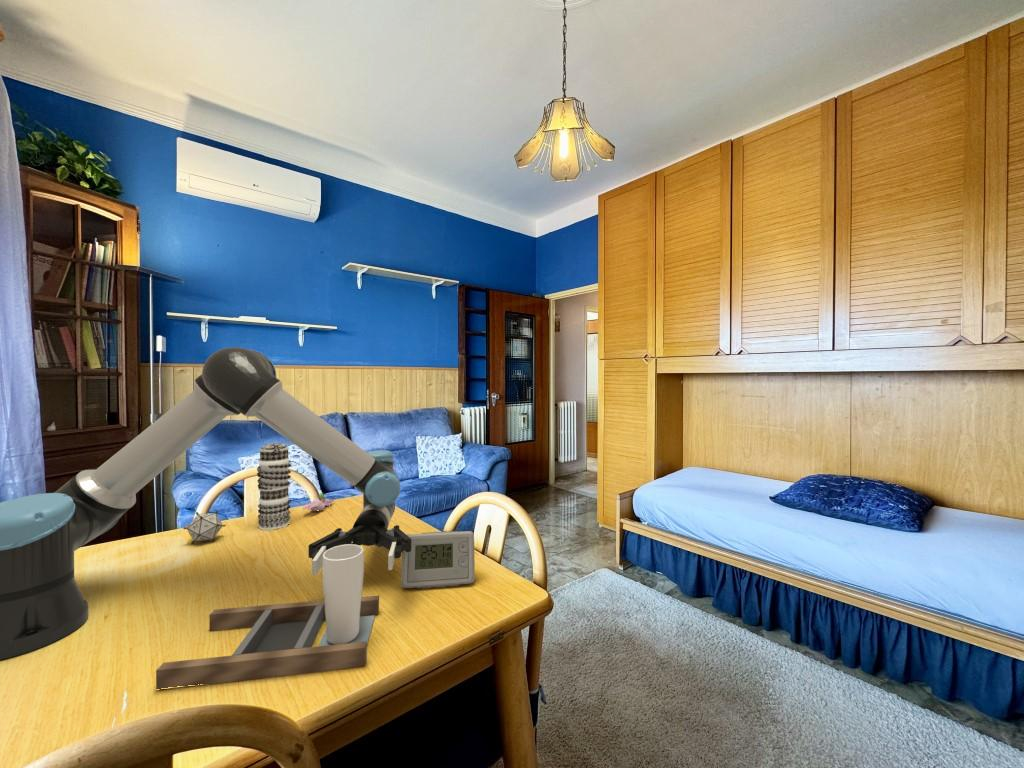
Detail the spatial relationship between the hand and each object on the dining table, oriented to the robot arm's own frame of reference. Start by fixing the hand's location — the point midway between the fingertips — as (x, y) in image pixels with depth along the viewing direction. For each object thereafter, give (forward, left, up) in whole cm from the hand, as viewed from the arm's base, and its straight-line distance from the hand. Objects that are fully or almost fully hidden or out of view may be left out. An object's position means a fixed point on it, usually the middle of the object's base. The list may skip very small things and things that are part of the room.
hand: (352, 565), depth 76 cm
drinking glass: (-1, -5, -10) cm, 12 cm away
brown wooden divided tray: (-10, -5, -11) cm, 15 cm away
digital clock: (+16, +12, -11) cm, 23 cm away
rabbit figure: (-24, +68, -11) cm, 73 cm away
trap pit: (-10, -5, -11) cm, 15 cm away
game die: (-48, +46, -11) cm, 67 cm away
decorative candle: (-34, +56, -11) cm, 66 cm away
